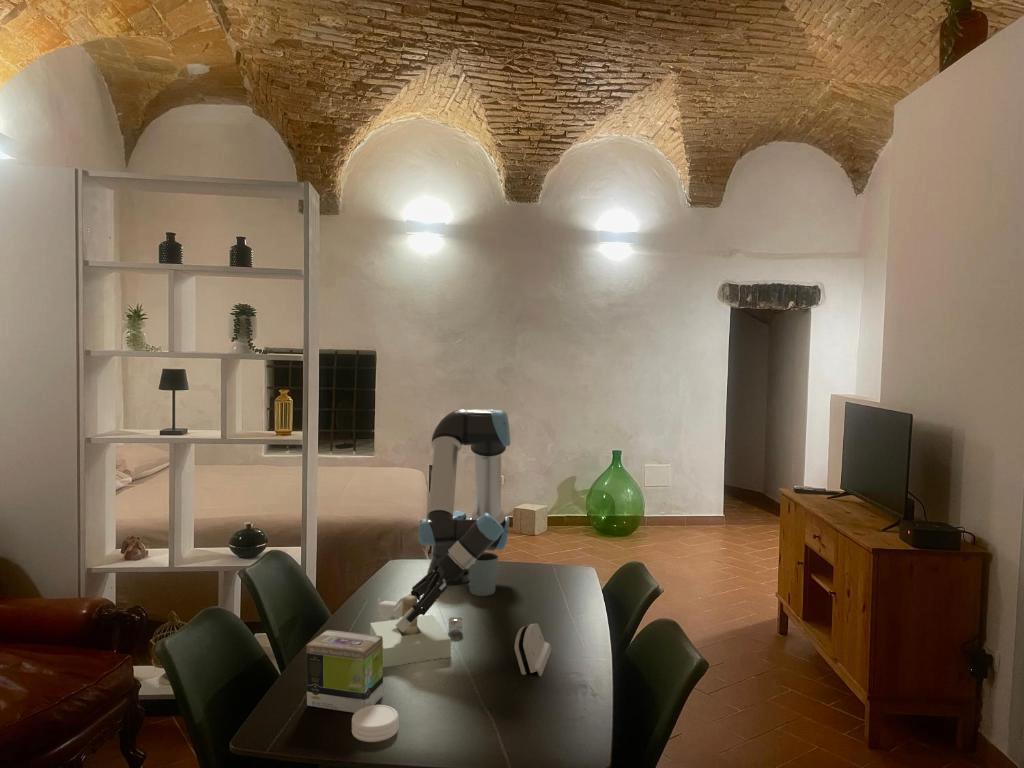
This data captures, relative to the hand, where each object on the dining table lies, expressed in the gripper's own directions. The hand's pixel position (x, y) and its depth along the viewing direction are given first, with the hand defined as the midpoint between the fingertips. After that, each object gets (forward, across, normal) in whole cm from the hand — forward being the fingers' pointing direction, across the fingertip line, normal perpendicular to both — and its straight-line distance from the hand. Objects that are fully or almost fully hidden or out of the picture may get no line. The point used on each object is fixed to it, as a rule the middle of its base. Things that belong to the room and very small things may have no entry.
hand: (398, 621), depth 200 cm
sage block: (+3, 0, -8) cm, 9 cm away
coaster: (+11, -40, -1) cm, 42 cm away
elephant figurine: (+7, +20, -5) cm, 22 cm away
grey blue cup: (-16, +41, -27) cm, 52 cm away
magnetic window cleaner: (-19, -13, -30) cm, 38 cm away
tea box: (+15, -26, +4) cm, 31 cm away
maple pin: (+3, 0, -8) cm, 8 cm away
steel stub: (-6, +8, -18) cm, 20 cm away
